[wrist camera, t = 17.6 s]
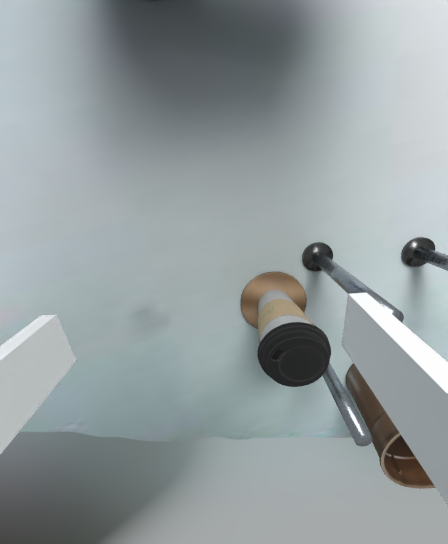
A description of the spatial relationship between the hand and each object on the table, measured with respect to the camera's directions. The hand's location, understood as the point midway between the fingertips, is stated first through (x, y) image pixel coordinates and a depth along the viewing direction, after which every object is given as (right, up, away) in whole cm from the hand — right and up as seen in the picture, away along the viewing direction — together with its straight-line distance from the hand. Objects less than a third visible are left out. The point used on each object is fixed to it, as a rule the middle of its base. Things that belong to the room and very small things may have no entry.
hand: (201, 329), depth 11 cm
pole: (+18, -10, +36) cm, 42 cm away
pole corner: (+17, +5, +30) cm, 35 cm away
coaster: (+10, -3, +33) cm, 35 cm away
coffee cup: (+10, -3, +32) cm, 34 cm away
